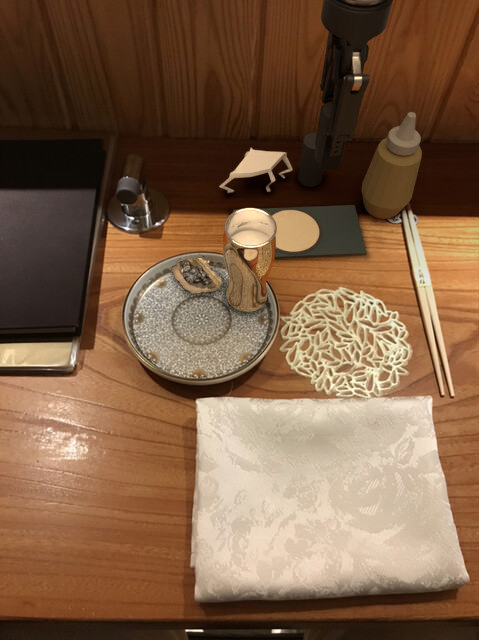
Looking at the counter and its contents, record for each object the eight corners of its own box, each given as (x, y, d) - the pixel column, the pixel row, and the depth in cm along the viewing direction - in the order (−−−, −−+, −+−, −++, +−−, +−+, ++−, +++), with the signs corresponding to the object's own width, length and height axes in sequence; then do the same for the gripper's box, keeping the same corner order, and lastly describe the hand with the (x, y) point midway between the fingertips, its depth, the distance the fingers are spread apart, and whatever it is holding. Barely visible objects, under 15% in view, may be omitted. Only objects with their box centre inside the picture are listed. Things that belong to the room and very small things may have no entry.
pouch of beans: (189, 249, 87) (188, 241, 86) (233, 271, 85) (233, 264, 83) (163, 279, 84) (162, 271, 82) (208, 303, 82) (208, 295, 80)
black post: (320, 170, 97) (327, 132, 90) (322, 186, 95) (330, 149, 88) (297, 170, 97) (302, 132, 90) (299, 186, 95) (304, 149, 88)
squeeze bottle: (411, 198, 94) (447, 106, 79) (398, 231, 90) (433, 141, 75) (365, 182, 95) (391, 90, 80) (350, 215, 92) (374, 123, 76)
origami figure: (258, 154, 99) (259, 131, 94) (293, 179, 96) (296, 156, 91) (208, 189, 94) (207, 166, 90) (244, 215, 91) (244, 194, 87)
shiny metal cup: (213, 292, 83) (211, 223, 70) (249, 268, 85) (253, 198, 73) (244, 323, 80) (247, 257, 67) (280, 297, 83) (290, 230, 70)
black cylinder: (339, 147, 82) (350, 100, 75) (344, 166, 80) (355, 120, 73) (312, 148, 82) (320, 101, 75) (316, 167, 80) (324, 120, 73)
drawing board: (354, 207, 92) (355, 204, 92) (365, 255, 87) (366, 252, 87) (233, 212, 91) (233, 208, 91) (237, 260, 86) (237, 257, 86)
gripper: (315, -51, 65) (294, 117, 85) (337, 34, 56) (308, 200, 76) (379, -52, 65) (343, 116, 85) (411, 33, 56) (363, 199, 76)
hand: (326, 155), depth 81 cm, fingers closed on black cylinder, 4 cm apart
